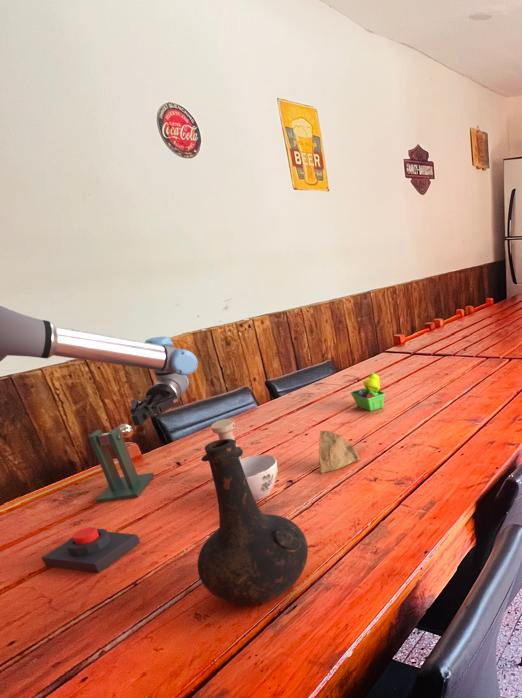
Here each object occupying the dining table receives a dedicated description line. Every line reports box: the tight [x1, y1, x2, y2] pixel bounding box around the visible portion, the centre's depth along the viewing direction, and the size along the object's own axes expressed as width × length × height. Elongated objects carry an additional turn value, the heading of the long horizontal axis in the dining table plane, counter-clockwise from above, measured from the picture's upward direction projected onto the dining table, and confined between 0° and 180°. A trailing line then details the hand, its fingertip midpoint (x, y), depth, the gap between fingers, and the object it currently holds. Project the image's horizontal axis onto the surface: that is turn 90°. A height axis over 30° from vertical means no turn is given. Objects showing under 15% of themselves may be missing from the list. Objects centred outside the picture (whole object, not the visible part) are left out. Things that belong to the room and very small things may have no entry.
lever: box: [98, 423, 135, 446], centre depth 128 cm, size 13×4×4 cm, turn 13°
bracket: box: [88, 427, 155, 504], centre depth 125 cm, size 12×9×16 cm
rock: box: [318, 430, 361, 475], centre depth 134 cm, size 11×9×10 cm
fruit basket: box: [350, 372, 386, 412], centre depth 175 cm, size 11×9×11 cm
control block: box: [41, 528, 141, 574], centre depth 103 cm, size 13×10×4 cm
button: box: [71, 526, 99, 545], centre depth 101 cm, size 4×4×2 cm
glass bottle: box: [197, 439, 309, 606], centre depth 86 cm, size 18×18×28 cm
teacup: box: [240, 454, 278, 501], centre depth 120 cm, size 15×12×8 cm
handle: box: [210, 418, 242, 459], centre depth 129 cm, size 5×6×15 cm
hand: (135, 421), depth 139 cm, fingers closed
